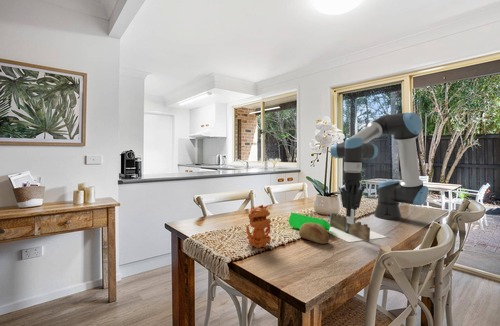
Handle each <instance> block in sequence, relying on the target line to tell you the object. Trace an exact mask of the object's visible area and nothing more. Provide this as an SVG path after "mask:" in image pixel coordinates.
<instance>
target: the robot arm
mask: <svg viewBox="0 0 500 326" xmlns="http://www.w3.org/2000/svg"><path fill="white" fill-rule="evenodd" d="M422 131H423V122H422V119H421V117H420V115H419V114H417V113H416V112H402V113H393V114H386V115H385V114H384V115H382V116H380V117H378V118H376V119H374V120H372V121H371V122H368V124H367V125H366V127H365V128H363V129H361V130H360V131H358V132H357V133H354V134H353V135H352V136H351V137H347V138H345V141H342V142H340V143H334V144H332V145H331V147H330V149H329V150H330V151H329V152H330V156H331V157H333V158H335V159H344V161H343V171H344V172H343V178H342V180H344V181H343V183H342V184H343V185H342V186H339V187H338V190H339V192H340V197H341V198H340V199H341V204H342V205H341V206H342V207H343V208H344V209H346V210H345V211H346V213H345V214H346V216H345V217H347V223H349V224H354V220H355V216H356V211H358V209H359V208H360V205H361V201H362V196H363V193H364V191H365V189H366V188H365V187H364V186H362V184H361V181H362V172H363V171H362V168H363V160H373V159H375V158H376V157H377V156H378V154H379V148H378V146H377V145H376V144H373V143H370V142H371V141H373V139H377V138H380V137H381V136H382V137H383V136H393V139H394V140H395V142H397V147H398V157H399V165H400V173H401V175H400V176H401V180H382V181H379V182H378V187H377V191H378V192H377V205H376V208H375V210H374V217H376V218H379V219H383V220H390V221H391V220H392V221H396V220H398V221H399V220H401V219H402V213H401V209H400V207H399V206H400V204H399V203H401V204H408V205H413V206H423V205H424V204H425V203H426V201H427V199H428V197H429V188H428V186H427V185H424V181H423V180H422V179H420V172H419V163H418V162H419V161H418V153H417V142H416V139H417V138H418V137H419V135H420V134H421V132H422Z"/></svg>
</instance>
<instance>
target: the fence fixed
mask: <svg viewBox="0 0 500 326" xmlns="http://www.w3.org/2000/svg"><path fill="white" fill-rule="evenodd" d="M329 217H330V218H329V224H331V226H334V227H336V228H338V229H341V230H343V231H345V229H346V217H347V216H345V215H343V216H342V215H341V214H337V213H336V212H335V213H333V212H330V215H329Z"/></svg>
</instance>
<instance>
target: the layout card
mask: <svg viewBox="0 0 500 326" xmlns="http://www.w3.org/2000/svg"><path fill="white" fill-rule="evenodd" d="M326 231H327V232H328V234H329V235H332V236H334V237H336V238H338V239H340V240H343V241H345V242H347V243H354V242H355V243H356V242H363V241H365V240H364V239H362V238H359V237H357V236H355V235H352V234H350V233H345V231H343V230H341V229H338V228H336V227H334V226H333V227H330V229H329V231H328V230H326ZM385 238H387V236H386V235H382V234H380V233H378V232H375V231H372V230H370V240H377V239H385Z"/></svg>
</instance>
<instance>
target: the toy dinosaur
mask: <svg viewBox="0 0 500 326" xmlns="http://www.w3.org/2000/svg"><path fill="white" fill-rule="evenodd" d="M270 215H271V212H270V211H269V209H268V205H266V206H264V205H263V204H261V205H259V206H255V205H253V207H252V208H251V209H250V211H249V213H248V215H247V217H248V219H249V220H248V222H249V225H250V226H251V228H253V231H252V234H251V231H250V228H249V225H246V227H245V228H246V234H247V236H246V239H248V245H249V246H251V247H252V246H254V247H259V248H258V249H261V248H260V247H264V248H266V247H267V245H270V244H271V241H272V240H271V239H272V238H271V235H270V233H271V222H272V221H271V220H270V219H269V218H267V217H269V216H270ZM254 247H253V248H254Z"/></svg>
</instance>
